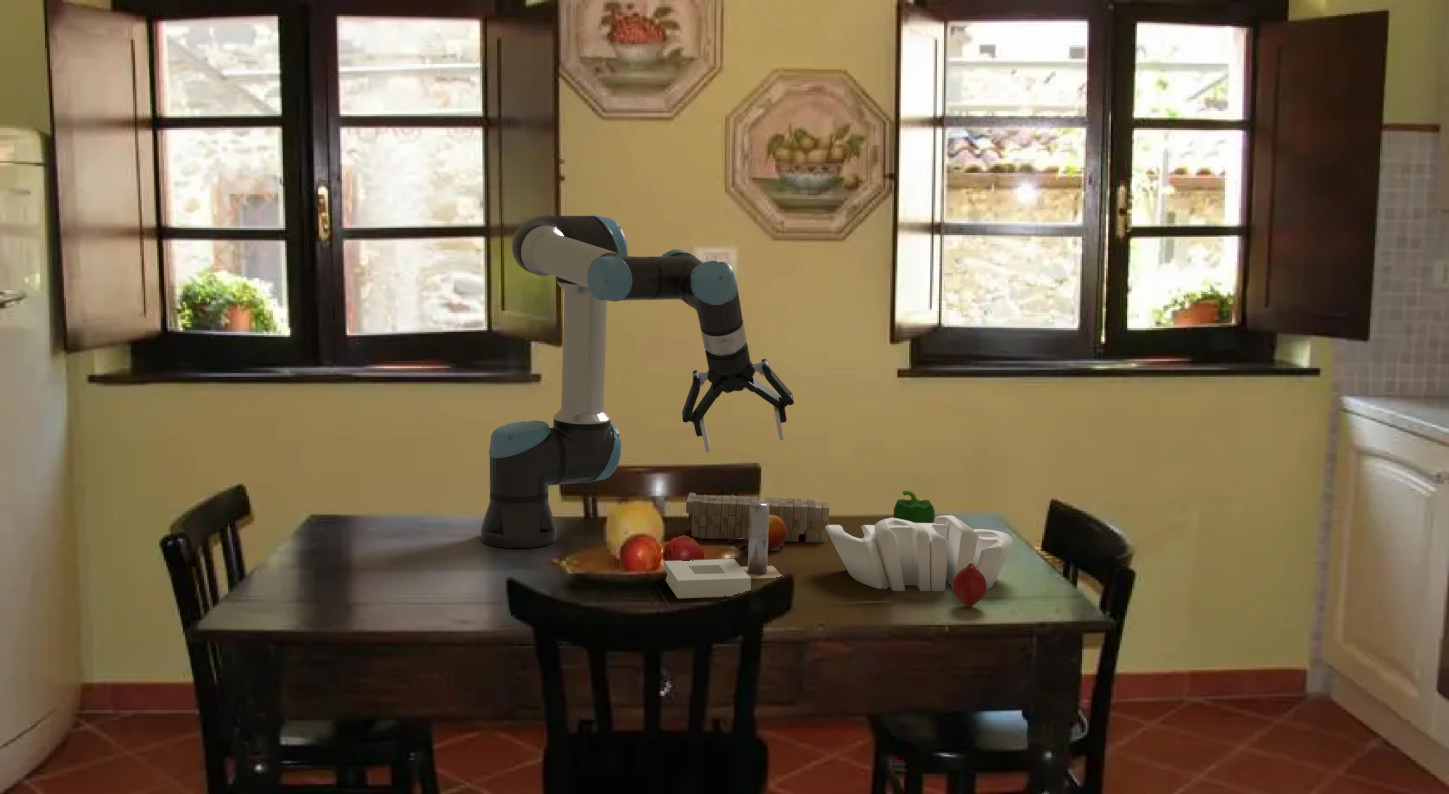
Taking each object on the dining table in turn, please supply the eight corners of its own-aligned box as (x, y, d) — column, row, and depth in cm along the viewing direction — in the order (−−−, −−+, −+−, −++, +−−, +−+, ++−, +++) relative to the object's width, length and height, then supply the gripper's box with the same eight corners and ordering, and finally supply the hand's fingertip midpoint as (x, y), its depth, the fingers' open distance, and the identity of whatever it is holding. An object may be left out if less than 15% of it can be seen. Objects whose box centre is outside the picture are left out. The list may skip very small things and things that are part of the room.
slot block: (663, 579, 253) (664, 561, 252) (733, 577, 256) (733, 558, 255) (677, 600, 240) (678, 580, 240) (750, 597, 243) (750, 578, 243)
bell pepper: (939, 537, 291) (942, 490, 289) (923, 545, 284) (925, 497, 282) (903, 531, 295) (905, 485, 294) (886, 538, 288) (888, 491, 287)
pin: (745, 569, 259) (747, 501, 258) (764, 569, 260) (766, 501, 258) (750, 575, 256) (752, 506, 254) (769, 574, 257) (771, 505, 255)
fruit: (792, 549, 272) (773, 513, 272) (758, 566, 274) (738, 531, 273) (798, 539, 280) (779, 504, 279) (765, 556, 281) (746, 522, 281)
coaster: (731, 569, 261) (731, 567, 261) (772, 567, 263) (772, 565, 263) (741, 580, 253) (741, 578, 253) (783, 579, 255) (783, 577, 255)
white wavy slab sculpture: (832, 591, 249) (834, 533, 248) (821, 566, 265) (823, 512, 264) (1024, 593, 251) (1028, 536, 249) (1002, 569, 267) (1005, 515, 266)
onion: (948, 602, 244) (950, 557, 243) (980, 602, 244) (982, 558, 243) (956, 612, 238) (958, 566, 237) (989, 612, 239) (991, 566, 238)
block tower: (825, 539, 291) (686, 529, 292) (828, 499, 290) (689, 490, 291) (826, 548, 283) (684, 538, 284) (829, 508, 282) (686, 497, 283)
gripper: (655, 368, 240) (677, 465, 252) (798, 345, 239) (813, 442, 251) (655, 345, 246) (676, 440, 258) (794, 322, 245) (809, 419, 257)
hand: (744, 442), depth 255 cm, fingers open, 13 cm apart
